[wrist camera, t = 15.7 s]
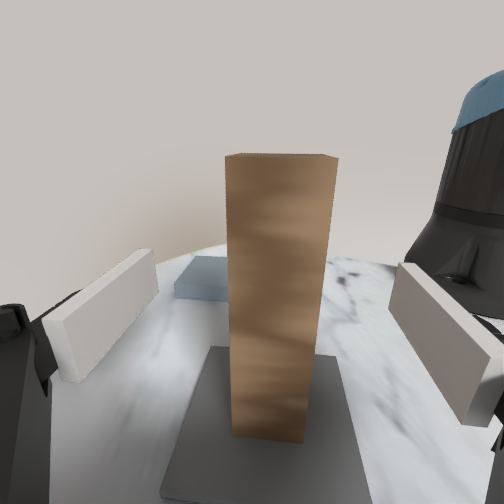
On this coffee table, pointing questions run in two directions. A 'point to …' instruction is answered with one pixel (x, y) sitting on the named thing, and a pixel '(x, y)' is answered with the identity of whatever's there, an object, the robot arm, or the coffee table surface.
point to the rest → (266, 448)
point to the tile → (204, 279)
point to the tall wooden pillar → (275, 286)
